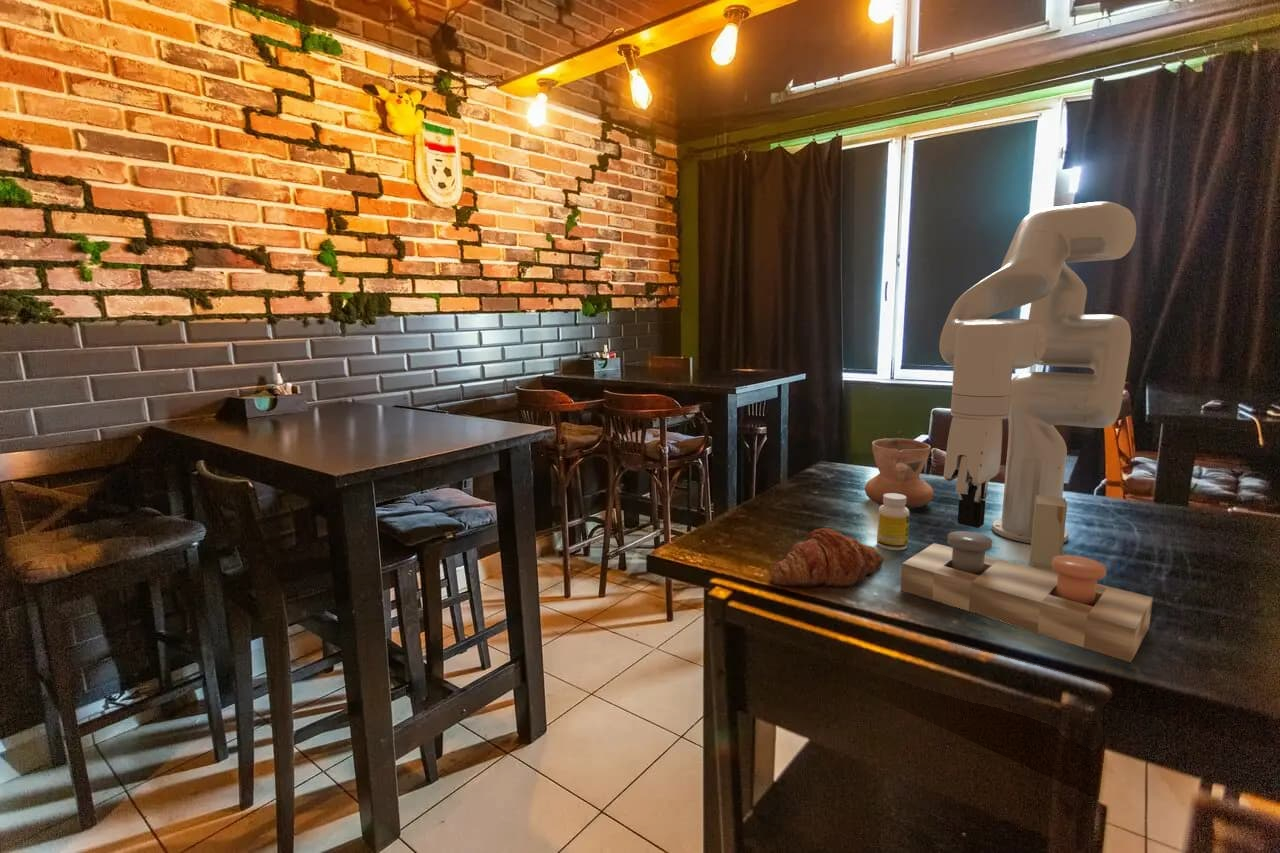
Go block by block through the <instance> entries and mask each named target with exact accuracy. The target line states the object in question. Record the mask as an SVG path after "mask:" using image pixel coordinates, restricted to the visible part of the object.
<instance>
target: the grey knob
mask: <svg viewBox="0 0 1280 853" xmlns="http://www.w3.org/2000/svg"><path fill="white" fill-rule="evenodd" d="M947 544H948V545H949V546H950V547H952V548H953V551H952V565H951V568H953V569H957V570H961V571H964V572H968V573H972V574H975V575H979V576H980V575H981V574H982V573H983V571H984V559H985V556H986V552H987V551H990V550H992V544H993V540H992V538H990V537H989V536H987V535H985V534H981V533H979V532H978V533H977V532H974V531H964V530H960V531H959V530H957V531H952V532H948V534H947Z"/></svg>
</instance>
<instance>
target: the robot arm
mask: <svg viewBox="0 0 1280 853" xmlns="http://www.w3.org/2000/svg"><path fill="white" fill-rule="evenodd" d="M1131 211H1132V210H1130V209H1128V208H1127V207H1125V206H1122V205H1121V204H1119V203H1115V202H1111V201H1092V202H1085V203H1075V204H1069V205H1068V204H1066V205H1059V206H1052V207H1051V206H1049V207H1045V208H1040V209H1037V210H1034V211H1032V212H1030V213H1029V214H1027V215H1026V216H1025V217H1024V218H1023V219H1022V220H1021V221H1020V223H1019V224H1018V227H1017V228H1016V230H1015V234H1014V236H1013V237H1012V240H1011V243H1010V245H1009V247H1008V250H1007V252H1006V254H1005V256H1004V258H1003V261H1002V264H1001V265H1000V269H998V270H996V271H995V272H993V273H991V274H990V275H988V276H986V277H984V278H983V279H982V280H980V281H979V282H977V283H976V284H974V285H973V286H972V287H970V288H969V289H967V290H966V291H965V292H964V293H962V294H961V295H960V296H959V297H958V298H957V300H956V301H955V302H954V304H953V306H952V307H951V308H950V312H949V314H948V316H947V318H946V321H945V323H944V325H943V328H942V331H941V334H940V338H939V344H938V345H939V353H940V356H941V358H942V360H943V361H944V362H945V363H947V364H948V365H950V366H953V373H952V374H953V376H952V388H951V389H952V390H951V401H950V402H951V404H950V415H951V416H952V419H951V423H950V426H949V432H948V437H947V443H946V450H945V451H946V452H945V461H944V470H943V478H944V480H945V481H946V482H951V481H953V480H954V481H955V480H956V484H955V493H957V494H958V507H957V508H958V511H957V524H959V525H963V526H967V527H972V528H976V529H979V528H981V527H982V526H983V525H985V513H986V501H987V500H986V498H987V494H988V486H989V483H990V481H991V479H993V478H995V477H997V475H998V474H999V472H1000V468H1001V459H1002V450H1003V449H1002V448H1003V420H1005V419H1008V438H1007V439H1008V440H1007V450H1006V452H1007V453H1006V462H1005V463H1006V464H1005V476H1004V486H1003V499H1002V509H1001V510H1002V511H1001V518H998V519H995V520H993V522H992V524H991V529H992V531H993V532H994V533H995V534H997V535H999V536H1000V537H1004V538H1005V539H1009V540H1011V541H1016V542H1020V543H1026V544H1031V539H1032V528H1033V517H1034V505H1035V496H1036V495H1042V496H1050V497H1058V498H1063V494H1064V493H1063V492H1064V487H1065V486H1064V484H1065V476H1066V474H1065V473H1066V468H1067V467H1066V465H1067V456H1068V447H1067V444H1066V441H1065V440H1064V438H1063V436H1062V435H1061V434H1060V432H1059V431H1058V430H1057V428H1056V427H1055V425H1056V426H1060V425H1061V426H1070V427H1082V428H1092V429H1093V428H1096V429H1103V428H1104V429H1105V428H1109V427H1111V426H1112V425H1114V424H1115V423H1116V422H1117V421H1118V420H1117V419H1118V418H1119V416H1120V414H1121V413H1120V412H1121V408H1122V404H1123V398H1124V391H1125V385H1126V379H1127V372H1128V367H1129V360H1130V352H1131V343H1132V334H1131V333H1132V332H1131V331H1132V330H1131V327H1130V324H1129V322H1128V320H1126V319H1125V318H1124V317H1123V316H1119V315H1116V314H1109V313H1108V314H1105V313H1102V314H1096V313H1095V314H1085V306H1086V300H1087V296H1088V295H1087V294H1088V289H1087V286H1086V285H1085V283H1084V281H1083V280H1082V279H1081V278H1080V277H1079V275H1078V274H1077V273H1076V272H1075V271H1073V269H1071V268H1070V267H1069V266H1068V265H1067V264H1066V263H1082V262H1083V263H1085V262H1097V261H1099V262H1100V261H1112V260H1119V259H1122V258H1123V257H1125V256H1126V255H1127V254H1128V253H1129V252H1130V251H1131V249H1132V248H1133V246H1134V243H1135V240H1136V236H1137V224H1136V219H1135V216H1134V214H1133V213H1132V212H1131ZM1029 304H1030V308H1029V314H1028V319H1026V318H990V317H992V316H994V315H997V314H1000V313H1004V312H1007V311H1010V310H1013V309H1016V308H1020V307H1023V306H1026V305H1029ZM1034 365H1037V366H1038V365H1039V366H1045V367H1047V366H1049V367H1067V368H1069V367H1070V368H1089V369H1091V370H1092V371H1094V372H1093V373H1092V374H1091V373H1075V372H1073V373H1072V372H1059V371H1058V372H1055V371H1054V372H1051V371H1030V372H1024V373H1021V374H1019V375H1016V376H1015V377H1013V370H1021V369H1027V368H1030V367H1032V366H1034ZM1068 540H1069V532H1068V531H1067V530H1066V529H1065V532H1064V542H1063V544H1064V543H1066V542H1067V541H1068Z"/></svg>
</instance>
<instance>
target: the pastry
mask: <svg viewBox="0 0 1280 853" xmlns="http://www.w3.org/2000/svg"><path fill="white" fill-rule="evenodd" d="M883 563H884V558H883V556H882V554H881V553H880V552H879V551H878V550H877V549H876V548H875V547H874V546H871V545H866V544H863V543H862V542H860V541H858V540H857V539H855V538H852V537H850V536H846V535H844V534H842V533H841V532H839V531H837V530H835V529H833V528H828V527H822V528H817V529H813V530H812V531H811V532H809V533H808V536H807V537H806V540H805V541H803V542H802V541H801V542H800V541H799V542H797V543H794V544H793V545H792V546H791V549H790V551H789V552H788V553H787V554H786V556H784V558H783V559H782V560H780V561H778V562H777V563H776V564H774V568H773V569H772V572H771V575H770V576H771V578H770V580H771V582H772V584H773V585H776V586H779V587H793V588H794V587H800V588H801V587H802V588H804V587H805V588H817V587H822V588H829V587H831V588H837V589H838V588H840V589H844V588H848V589H849V588H852V587H853V586H854V585H857V584H860V583H861V582H863V581H864V580H865V578H866V577H867V576H870V575H873V574H874V573H875V571H876V570H878V569H880V568H881V567H882V565H883Z"/></svg>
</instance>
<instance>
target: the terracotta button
mask: <svg viewBox="0 0 1280 853" xmlns="http://www.w3.org/2000/svg"><path fill="white" fill-rule="evenodd" d="M1052 568H1053V569H1054V570H1055V571H1057V572H1058V578H1057V587H1056V597H1060V598H1064V599H1067V600H1071V601H1075V602H1078V603H1082V604H1086V605H1089V606H1093V607H1094V603H1095V595H1096V586H1097V584H1098V580H1101V579H1102V580H1103V579H1104V578H1105V577H1106V575H1107V574H1106V573H1107V567H1106V566H1105V564H1103V563H1102V562H1099V561H1098V560H1095V559H1092V558H1088V557H1084V556H1080V555H1071V554H1062V555H1059V556H1055V557H1053V559H1052Z"/></svg>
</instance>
